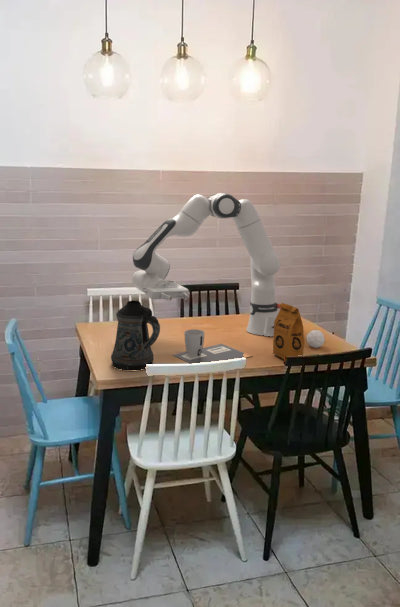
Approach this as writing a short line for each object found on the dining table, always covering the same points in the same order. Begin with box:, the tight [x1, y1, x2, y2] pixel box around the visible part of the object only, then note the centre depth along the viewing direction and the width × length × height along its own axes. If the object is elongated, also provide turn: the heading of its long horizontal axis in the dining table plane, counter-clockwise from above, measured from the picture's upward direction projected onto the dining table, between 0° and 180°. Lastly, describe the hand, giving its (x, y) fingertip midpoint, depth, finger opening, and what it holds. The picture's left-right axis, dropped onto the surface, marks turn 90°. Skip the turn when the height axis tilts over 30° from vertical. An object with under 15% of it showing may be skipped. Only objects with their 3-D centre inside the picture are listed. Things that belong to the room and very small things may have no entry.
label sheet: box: [172, 343, 245, 364], centre depth 222 cm, size 26×20×1 cm
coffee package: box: [272, 302, 305, 360], centre depth 219 cm, size 10×12×22 cm
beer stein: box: [110, 300, 161, 371], centre depth 208 cm, size 16×19×25 cm
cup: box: [183, 328, 205, 358], centre depth 220 cm, size 8×8×10 cm
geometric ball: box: [306, 329, 326, 349], centre depth 235 cm, size 8×8×8 cm
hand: (179, 298), depth 226 cm, fingers open, 8 cm apart
